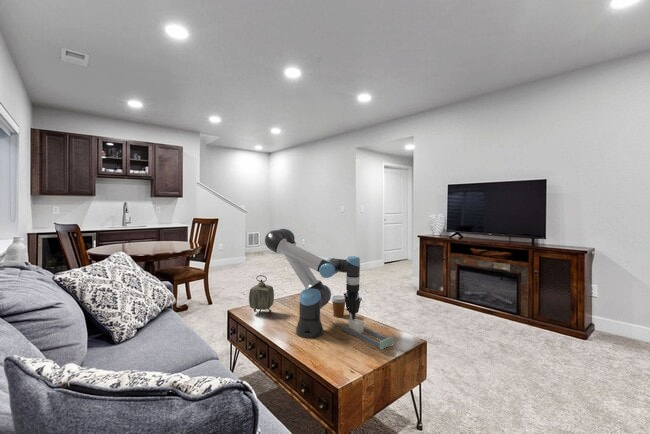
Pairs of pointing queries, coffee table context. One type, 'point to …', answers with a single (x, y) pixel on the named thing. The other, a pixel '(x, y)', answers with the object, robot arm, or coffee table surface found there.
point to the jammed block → (357, 325)
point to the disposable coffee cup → (338, 305)
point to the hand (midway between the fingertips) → (352, 323)
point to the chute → (383, 343)
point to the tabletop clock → (261, 296)
